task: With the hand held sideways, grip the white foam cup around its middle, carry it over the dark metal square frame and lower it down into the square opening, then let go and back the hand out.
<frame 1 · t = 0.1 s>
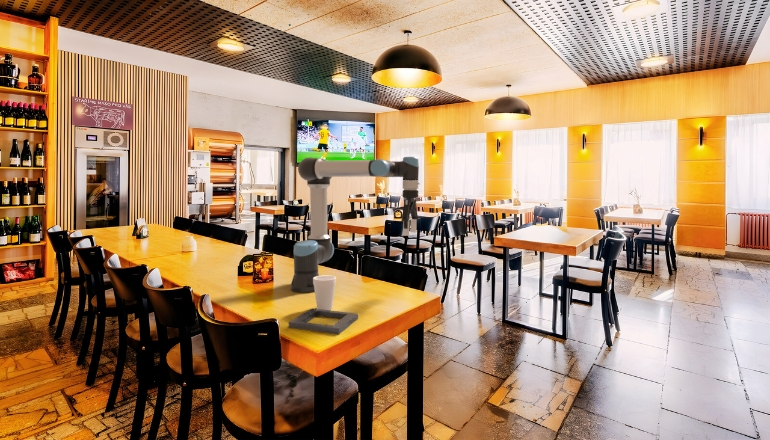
hand: (409, 233, 191), 28 cm above the table, tool pointing down, fingers open, 13 cm apart
square frame: (324, 323, 148), on the table
foam cup: (324, 308, 166), on the table
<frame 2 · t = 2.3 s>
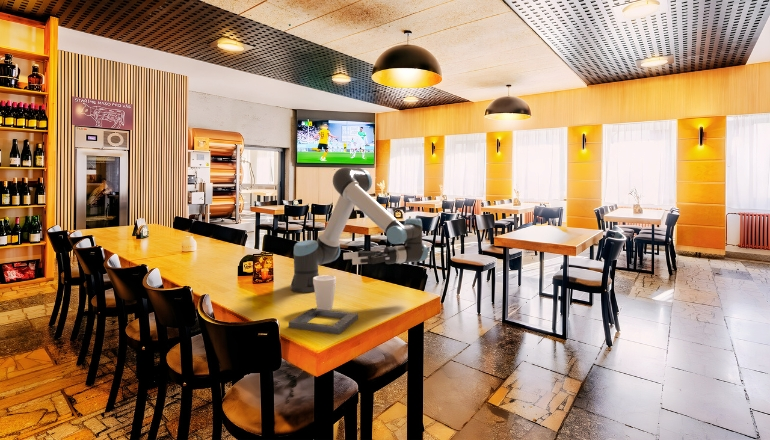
hand: (347, 258, 168), 20 cm above the table, tool horizontal, fingers open, 13 cm apart
nothing on the table moved.
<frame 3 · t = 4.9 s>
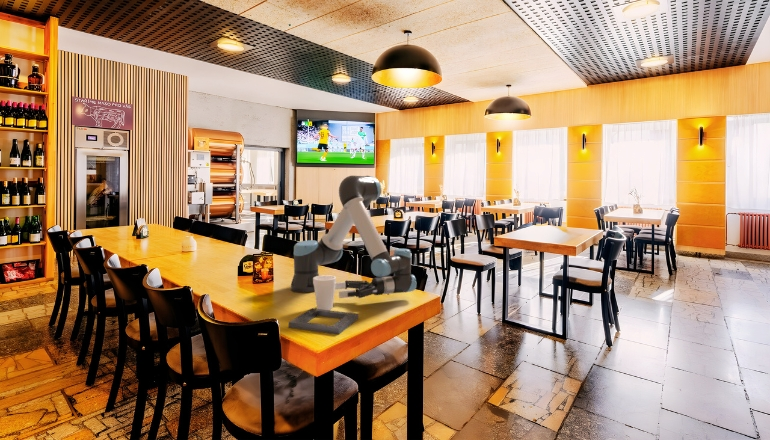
hand: (334, 290, 166), 7 cm above the table, tool horizontal, fingers open, 13 cm apart
nothing on the table moved.
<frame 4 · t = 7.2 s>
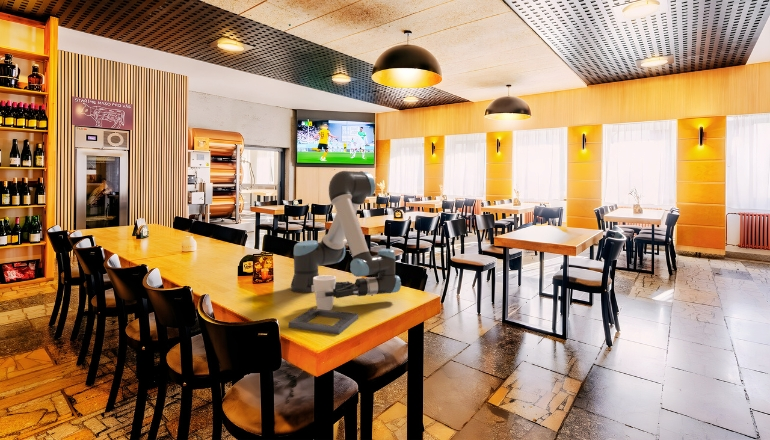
hand: (314, 291, 163), 8 cm above the table, tool horizontal, fingers closed on foam cup, 9 cm apart
foam cup: (324, 308, 166), on the table, touching gripper
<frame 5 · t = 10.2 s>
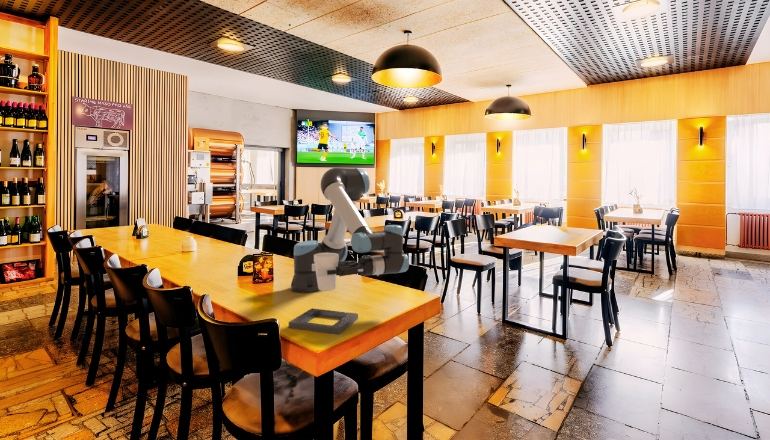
hand: (314, 270, 149), 19 cm above the table, tool horizontal, fingers closed on foam cup, 9 cm apart
foam cup: (326, 289, 151), point 12 cm above the table, touching gripper
when the fingers open (9 cm above the table, at t = 13.5 s): foam cup drops 1 cm, on the table.
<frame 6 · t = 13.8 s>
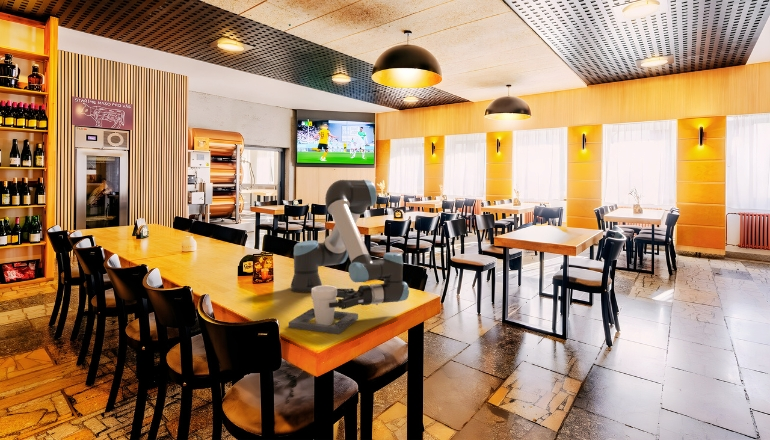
hand: (315, 300, 146), 9 cm above the table, tool horizontal, fingers open, 13 cm apart
foam cup: (324, 323, 148), on the table
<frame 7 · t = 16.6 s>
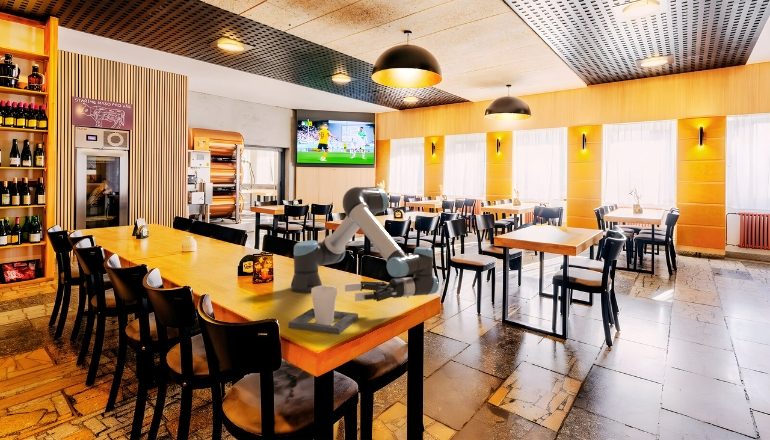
hand: (349, 292, 151), 11 cm above the table, tool horizontal, fingers open, 13 cm apart
nothing on the table moved.
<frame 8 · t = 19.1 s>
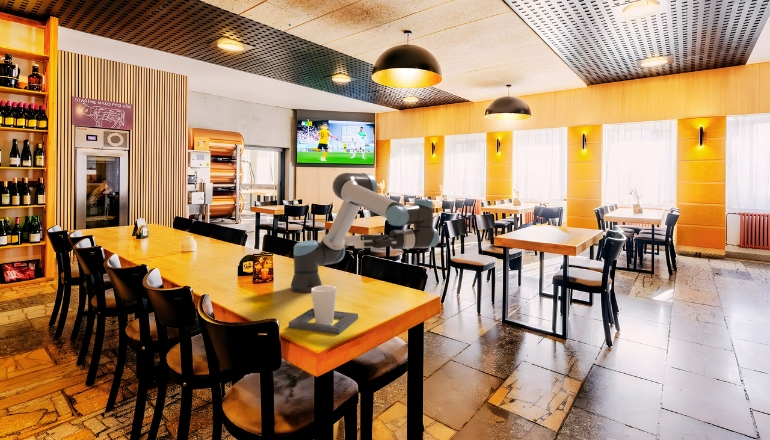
hand: (349, 242, 149), 30 cm above the table, tool horizontal, fingers open, 13 cm apart
nothing on the table moved.
at the end: foam cup 0.2 cm off-centre on the square frame, point 0.0 cm above the square frame's base; foam cup tilted 0°; the gripper is holding nothing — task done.
